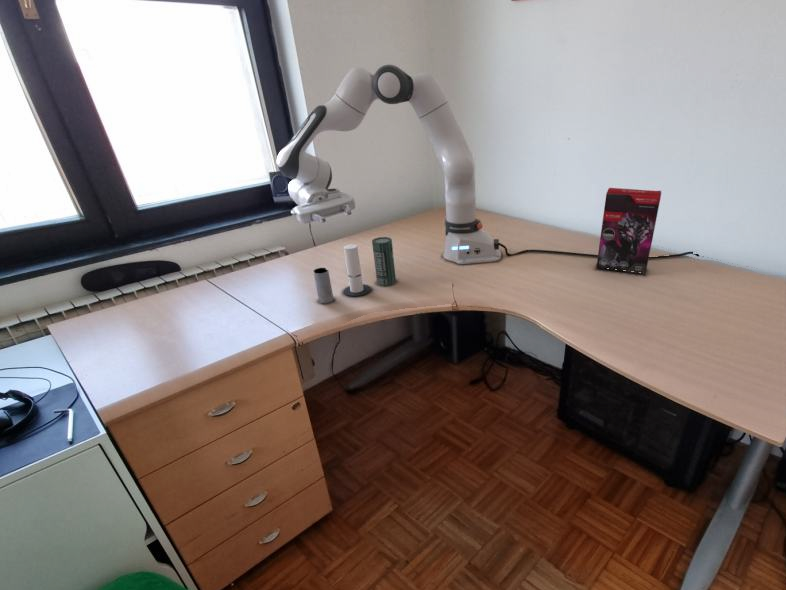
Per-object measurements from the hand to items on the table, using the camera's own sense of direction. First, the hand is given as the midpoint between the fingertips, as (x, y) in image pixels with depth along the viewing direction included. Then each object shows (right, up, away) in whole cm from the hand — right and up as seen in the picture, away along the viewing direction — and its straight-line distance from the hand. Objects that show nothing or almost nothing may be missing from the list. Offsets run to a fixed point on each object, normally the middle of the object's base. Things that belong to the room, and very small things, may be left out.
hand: (336, 216), depth 149 cm
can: (+15, -21, +8) cm, 27 cm away
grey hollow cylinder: (-2, -28, -3) cm, 28 cm away
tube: (+6, -24, +2) cm, 25 cm away
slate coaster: (+6, -24, +3) cm, 25 cm away
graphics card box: (+98, -15, +14) cm, 100 cm away
